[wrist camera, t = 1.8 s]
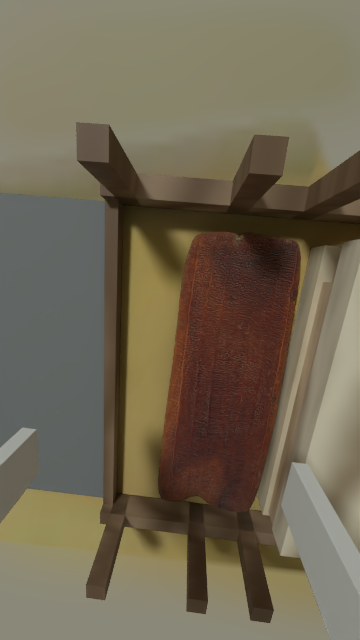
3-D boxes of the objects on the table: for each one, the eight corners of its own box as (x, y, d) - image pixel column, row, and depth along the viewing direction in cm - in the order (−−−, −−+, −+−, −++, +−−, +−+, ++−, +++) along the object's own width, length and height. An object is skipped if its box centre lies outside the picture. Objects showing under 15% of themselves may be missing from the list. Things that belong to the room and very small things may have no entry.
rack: (107, 502, 24) (74, 595, 17) (111, 182, 16) (54, 120, 10) (337, 531, 23) (399, 641, 16) (449, 208, 16) (647, 161, 9)
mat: (0, 478, 24) (-5, 484, 23) (-39, 191, 17) (-47, 189, 17) (105, 492, 24) (103, 497, 23) (107, 203, 17) (104, 201, 16)
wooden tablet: (250, 504, 23) (254, 522, 21) (157, 490, 23) (154, 506, 22) (316, 241, 16) (329, 238, 15) (186, 227, 17) (186, 223, 15)
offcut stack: (257, 495, 23) (277, 564, 17) (310, 247, 17) (365, 237, 12) (319, 503, 22) (359, 575, 17) (396, 254, 17) (490, 248, 11)
